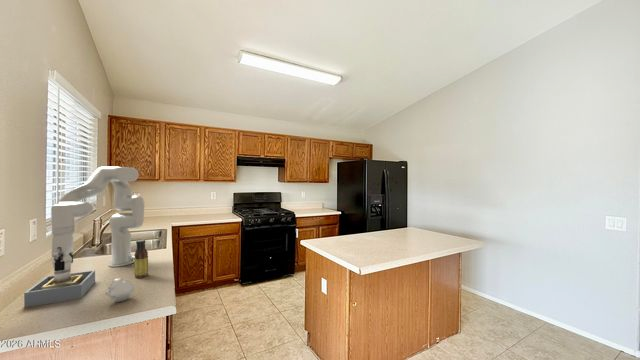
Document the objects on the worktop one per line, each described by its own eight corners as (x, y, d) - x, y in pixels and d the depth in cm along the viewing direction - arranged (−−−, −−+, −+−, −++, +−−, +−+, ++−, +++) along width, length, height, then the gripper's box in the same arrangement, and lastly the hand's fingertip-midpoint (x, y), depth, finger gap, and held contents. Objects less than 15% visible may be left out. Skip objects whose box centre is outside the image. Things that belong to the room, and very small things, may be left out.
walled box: (95, 281, 133) (95, 270, 133) (81, 298, 115) (81, 284, 115) (47, 288, 125) (47, 276, 124) (24, 307, 107) (24, 293, 107)
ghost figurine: (111, 298, 115) (111, 275, 115) (136, 294, 119) (136, 273, 119) (102, 307, 107) (102, 283, 107) (129, 303, 110) (129, 280, 110)
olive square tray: (83, 284, 127) (83, 274, 127) (74, 293, 118) (74, 282, 117) (52, 288, 122) (52, 278, 122) (41, 298, 112) (41, 287, 112)
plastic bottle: (76, 289, 121) (75, 247, 121) (57, 296, 115) (57, 251, 115) (67, 287, 123) (67, 246, 123) (48, 293, 117) (48, 249, 117)
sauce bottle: (139, 274, 143) (138, 238, 143) (150, 273, 144) (150, 238, 144) (131, 278, 137) (131, 241, 137) (143, 278, 137) (143, 241, 137)
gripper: (60, 227, 126) (61, 262, 126) (43, 235, 110) (44, 274, 111) (80, 226, 129) (81, 259, 130) (66, 233, 114) (67, 271, 114)
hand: (64, 266), depth 120 cm, fingers open, 9 cm apart
